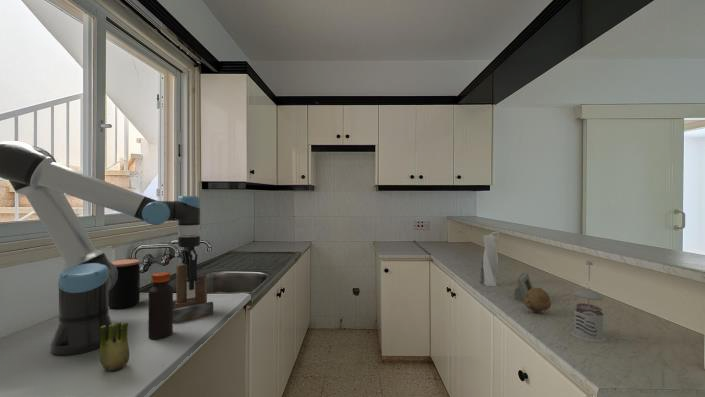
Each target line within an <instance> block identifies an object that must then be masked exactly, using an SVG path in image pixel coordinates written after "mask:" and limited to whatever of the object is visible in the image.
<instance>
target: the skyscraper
mask: <svg viewBox="0 0 705 397" xmlns="http://www.w3.org/2000/svg"><path fill="white" fill-rule="evenodd" d="M494 234H498V235H497V236H495V235H494ZM499 236H500V232H498V231H494V232H492V233H491V232H490V234H488V235H487V234H486V235H483V242H484V243H483V244H484V251H483V259H481V267H480V282H479V283H480V285H481V286H482V287H495V288H496V287H498V285H497V282H496V280H497V275H498V270H499V257H498V250H497V246H498V240H499Z"/></svg>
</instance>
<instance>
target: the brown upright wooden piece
mask: <svg viewBox="0 0 705 397" xmlns="http://www.w3.org/2000/svg"><path fill="white" fill-rule="evenodd" d="M186 280H187V264H182V263H179V264H177V265H176V284H175V286H176V288H175V290H176V295H175V296H176V297H175V298H176V299H175V300H176V303H175V309H177V308H182V307H187V306H192V305H197V304H202V303H207V302H208V292H207V291H208V272H205V273H204V274H203V275H202V276H201V277H200V278H199V279H197V281H195V301H194V300H187V282H186Z"/></svg>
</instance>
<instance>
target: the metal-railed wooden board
mask: <svg viewBox="0 0 705 397" xmlns="http://www.w3.org/2000/svg"><path fill="white" fill-rule="evenodd" d="M187 300H194V301H195V298H189V299H187ZM175 303H176V299H173V324H176V323H180V322H184V321H190V320H193V319H198V318H202V317H207V316H211V315H214V302H213V301H207V303H202V304H197V305H192V306H187V307H182V308H177V309H175Z"/></svg>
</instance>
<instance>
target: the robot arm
mask: <svg viewBox="0 0 705 397" xmlns="http://www.w3.org/2000/svg"><path fill="white" fill-rule="evenodd" d="M0 179H3V180H7V181H9V183H10V185H11V186H12V188H13V190H14V191H15V193H16V194H19V195H23V196H25V197H26V199H27V200H28V202H29V204H30V205H31V207H32V209H33V210H34V213H35V214H36V216H37V217H38V219H39V221H40V222H41V224H42V226H43V227H44V229H45V231H46V232H47V233H48V235H49V238H50V239H51V241H52V242H53V244H54V245H55V248H56V249H57V251H58V252H59V254H60V256H61V257H62V259H63V261H64V262H65V263H64V265H63V267H62V271H61V272H60V273H59V277H58V281H57V286H58V324H57V327H56V330H55V332H54V335H53V337H52V339H51V342H50V353H52V354H53V355H56V356H71V355H78V354H83V353H87V352H91V351H94V350H97V349H100V343H101V335H100V327H101V326H104V325H105V326H106V329H107V338H108V330H109V325H111V324H113V322H112V320H111V317H110V315H109V306H108V293H109V291H110V290H111V289H112V288H113V287H114V285H115V284H116V281H117V278H118V272H117V269H116V267H115V265H114V264H113V263H111V262H112V261H110V260H109V259H108V258H107V256H106V255H107V254H106V253H105V252H104V251H102V250H98V249H96V247H95V246H94V243H93V242H92V240H91V238H90V237H89V235H88V233H87V232H86V230H85V227H83V224H82V222H81V221H80V219H79V217H78V216H77V214H76V212H75V211H74V209H73V207H72V206H71V204H70V202H69V200H68V199H67V197H66V195H67V196H70V197H74V198H76V199H78V200H79V199H80V200H83V201H85V202H88V203H92V204H94V205H97V206H100V207H103V208H106V209H108V210H112V211H116V212H117V213H121V214H124V215H126V216H129V217H132V218H136V219H138V220H140V221H141V222H145V223H147V224H150V225H151V226H152V225H153V226H158V225H162V224H165V223H166V222H176V221H177V222H178V223H177V235H178V238H177V246H178V247H179V248H183V249H182V250H181V252H180V253H181V264H187V280H186V282H187V299H189V298H195V283H196V280H197V281H198V253H197V251H196V250H195V247H199V246H200V245H201V236H200V233H201V229H202V226H201V203H200V202H201V199H200V197H199V196H196V195H179V196H178V198H177V200H170V201H169V200H156V199H153V198H151V197H148V196H146V195H142V194H140V193H137V192H135V191H132V190H129V189H127V188H124V187H121V186H118V185H116V184H113V183H110V182H108V181H105V180H103V179H100V178H97V177H94V176H92V175H89V174H86V173H83V172H81V171H78V170H76V169H74V168H70V167H67V166H65V165H63V164H60V163H57V160H56V159H55V158H54V156H53V155H52V154H51V153H50V152H48V151H47V150H45V148H42V147H39V146H35V145H30V144H26V143H25V142H21V141H15V140H11V141H10V140H8V141H7V140H5V141H2V142H0ZM115 337H116V331H115V332H114V339H115Z"/></svg>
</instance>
